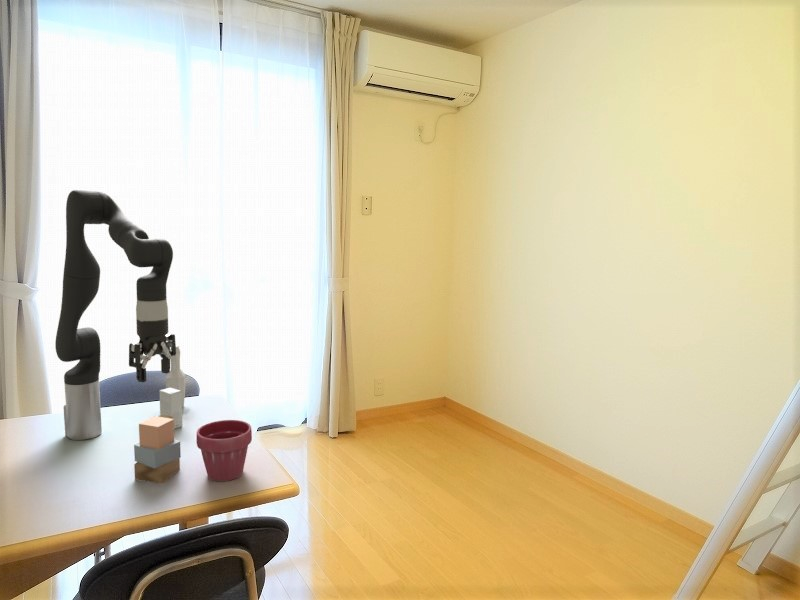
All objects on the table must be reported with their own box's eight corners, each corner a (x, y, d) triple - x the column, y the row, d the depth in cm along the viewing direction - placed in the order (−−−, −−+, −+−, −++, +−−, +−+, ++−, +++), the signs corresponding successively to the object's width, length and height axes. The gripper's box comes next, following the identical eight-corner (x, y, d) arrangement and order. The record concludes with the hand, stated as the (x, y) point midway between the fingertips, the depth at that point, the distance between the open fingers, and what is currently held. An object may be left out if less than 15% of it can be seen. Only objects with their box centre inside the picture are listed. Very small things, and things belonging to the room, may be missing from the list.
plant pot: (195, 466, 157) (194, 422, 155) (247, 459, 163) (246, 416, 161) (200, 490, 145) (198, 442, 143) (256, 481, 150) (256, 435, 148)
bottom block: (135, 480, 149) (134, 464, 148) (153, 467, 157) (152, 451, 156) (163, 483, 148) (162, 467, 147) (179, 470, 156) (179, 454, 155)
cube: (139, 445, 149) (138, 423, 148) (155, 437, 155) (154, 416, 154) (158, 449, 147) (158, 426, 146) (174, 440, 153) (173, 419, 152)
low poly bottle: (163, 408, 201) (161, 347, 197) (173, 402, 207) (171, 343, 203) (180, 410, 200) (178, 349, 196) (189, 404, 206) (188, 344, 202)
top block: (134, 461, 150) (134, 444, 149) (160, 450, 157) (160, 434, 156) (154, 468, 146) (154, 451, 146) (180, 457, 153) (180, 441, 153)
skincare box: (183, 426, 186) (182, 390, 184) (171, 430, 182) (170, 394, 180) (171, 421, 189) (170, 387, 187) (159, 425, 185) (158, 390, 184)
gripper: (160, 310, 155) (161, 368, 158) (119, 319, 142) (121, 382, 144) (183, 313, 153) (184, 372, 155) (143, 323, 139) (145, 387, 142)
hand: (154, 377), depth 150 cm, fingers open, 8 cm apart
